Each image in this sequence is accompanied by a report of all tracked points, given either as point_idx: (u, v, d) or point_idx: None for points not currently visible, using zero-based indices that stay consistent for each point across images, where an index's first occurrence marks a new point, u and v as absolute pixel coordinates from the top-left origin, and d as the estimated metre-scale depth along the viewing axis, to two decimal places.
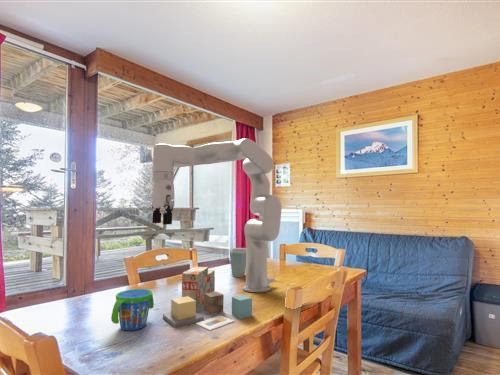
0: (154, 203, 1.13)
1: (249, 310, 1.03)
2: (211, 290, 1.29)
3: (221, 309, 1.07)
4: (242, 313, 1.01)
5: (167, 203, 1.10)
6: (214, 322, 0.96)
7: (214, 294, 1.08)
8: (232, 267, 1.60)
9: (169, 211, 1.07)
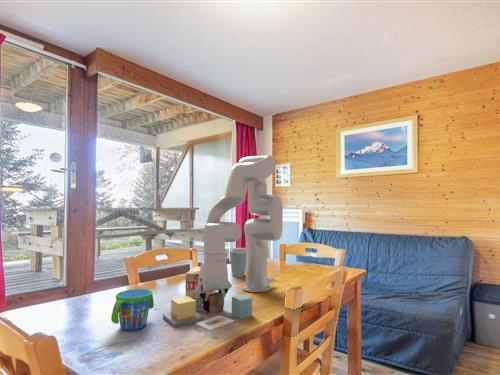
0: (211, 287, 1.05)
1: (249, 310, 1.03)
2: None
3: (221, 309, 1.07)
4: (242, 313, 1.01)
5: None
6: (214, 322, 0.96)
7: (214, 293, 1.08)
8: (232, 267, 1.60)
9: None
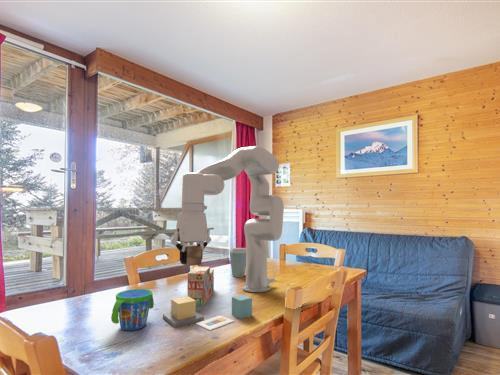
0: (188, 238, 1.00)
1: (249, 310, 1.03)
2: (211, 289, 1.30)
3: (199, 261, 1.01)
4: (242, 314, 1.01)
5: None
6: (214, 322, 0.96)
7: (192, 246, 1.03)
8: (232, 267, 1.60)
9: None
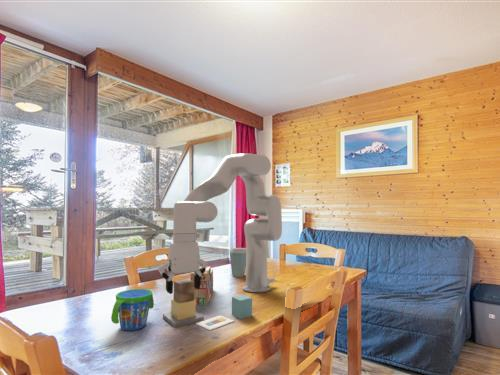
0: (180, 269, 0.98)
1: (249, 310, 1.03)
2: (211, 289, 1.30)
3: (192, 297, 0.99)
4: (242, 313, 1.01)
5: None
6: (214, 322, 0.96)
7: (184, 281, 1.00)
8: (232, 267, 1.60)
9: None
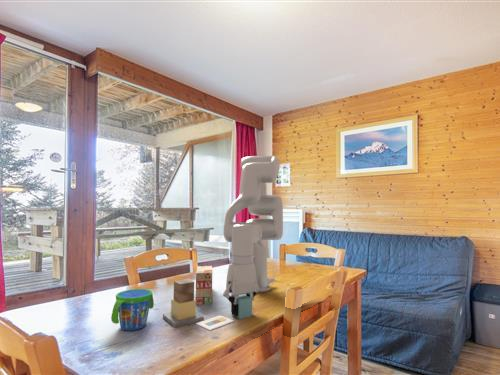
0: (240, 290, 1.01)
1: (249, 310, 1.03)
2: None
3: (192, 297, 0.99)
4: (242, 313, 1.01)
5: None
6: (214, 322, 0.96)
7: (184, 281, 1.00)
8: None
9: None
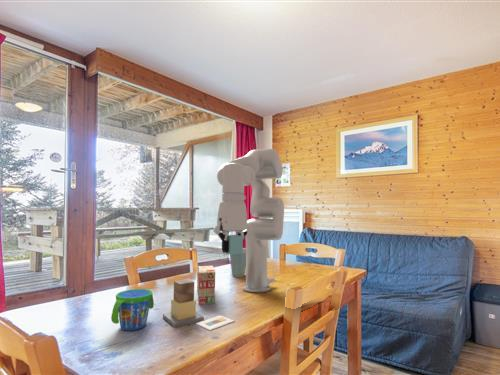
0: (230, 227, 1.02)
1: (240, 247, 1.03)
2: None
3: (192, 297, 0.99)
4: (233, 250, 1.02)
5: None
6: (214, 322, 0.96)
7: (184, 281, 1.00)
8: (232, 267, 1.60)
9: None
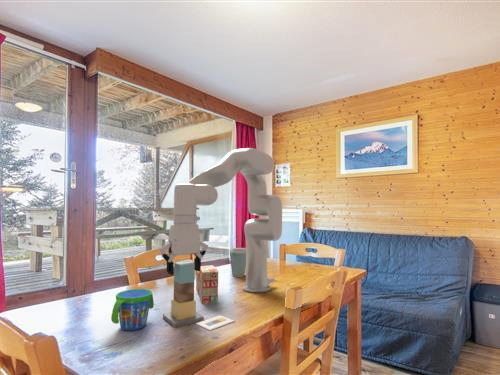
0: (180, 250, 0.98)
1: (191, 276, 0.99)
2: None
3: (192, 297, 0.99)
4: (183, 279, 0.98)
5: None
6: (214, 322, 0.96)
7: None
8: (232, 267, 1.60)
9: None
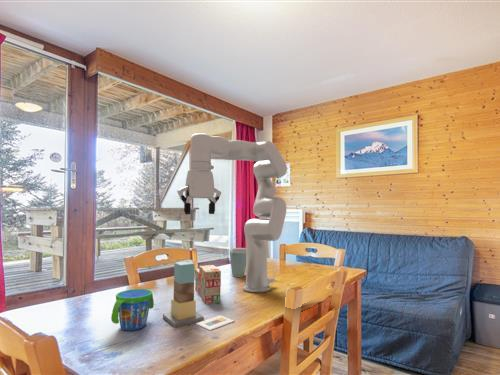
0: (197, 193, 1.08)
1: (191, 276, 0.99)
2: None
3: (192, 297, 0.99)
4: (183, 279, 0.98)
5: None
6: (214, 322, 0.96)
7: None
8: (232, 267, 1.60)
9: None
